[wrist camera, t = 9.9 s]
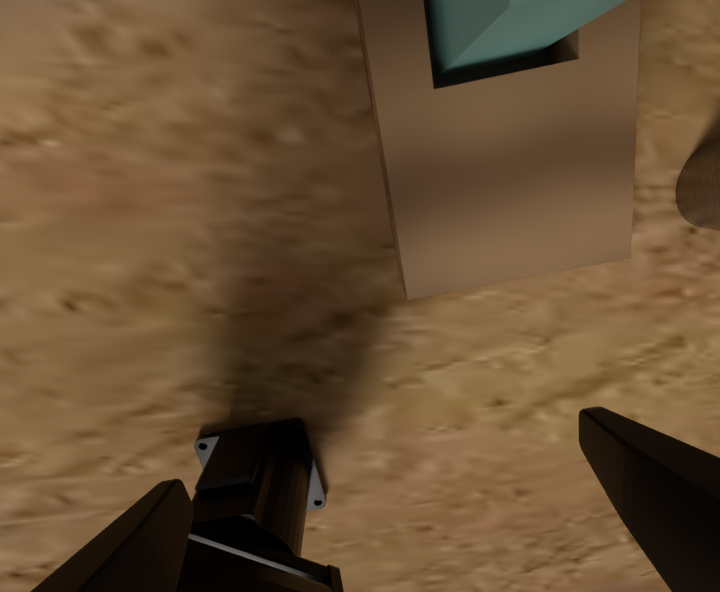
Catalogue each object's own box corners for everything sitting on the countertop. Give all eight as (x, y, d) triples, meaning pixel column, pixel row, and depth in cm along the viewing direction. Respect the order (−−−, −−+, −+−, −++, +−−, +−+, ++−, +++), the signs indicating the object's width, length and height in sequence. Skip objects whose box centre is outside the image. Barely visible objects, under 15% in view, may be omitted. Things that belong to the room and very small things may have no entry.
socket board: (596, 246, 19) (630, 258, 17) (401, 283, 20) (407, 300, 18) (601, -174, 14) (651, -241, 12) (335, -112, 15) (332, -164, 12)
